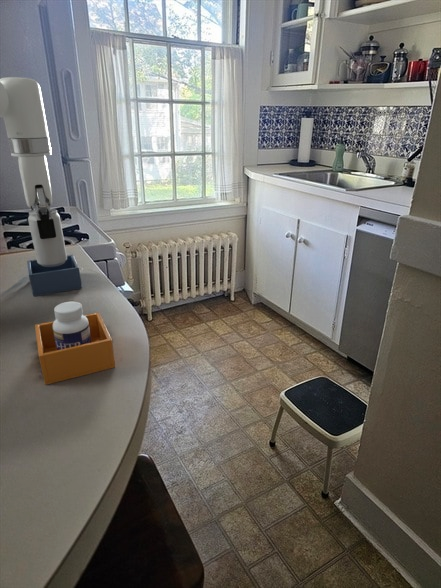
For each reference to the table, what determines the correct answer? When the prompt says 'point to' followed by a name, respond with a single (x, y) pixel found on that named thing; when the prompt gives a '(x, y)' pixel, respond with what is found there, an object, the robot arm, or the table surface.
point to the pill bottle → (70, 326)
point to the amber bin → (74, 352)
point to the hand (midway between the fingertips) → (46, 233)
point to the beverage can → (48, 242)
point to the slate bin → (54, 277)
